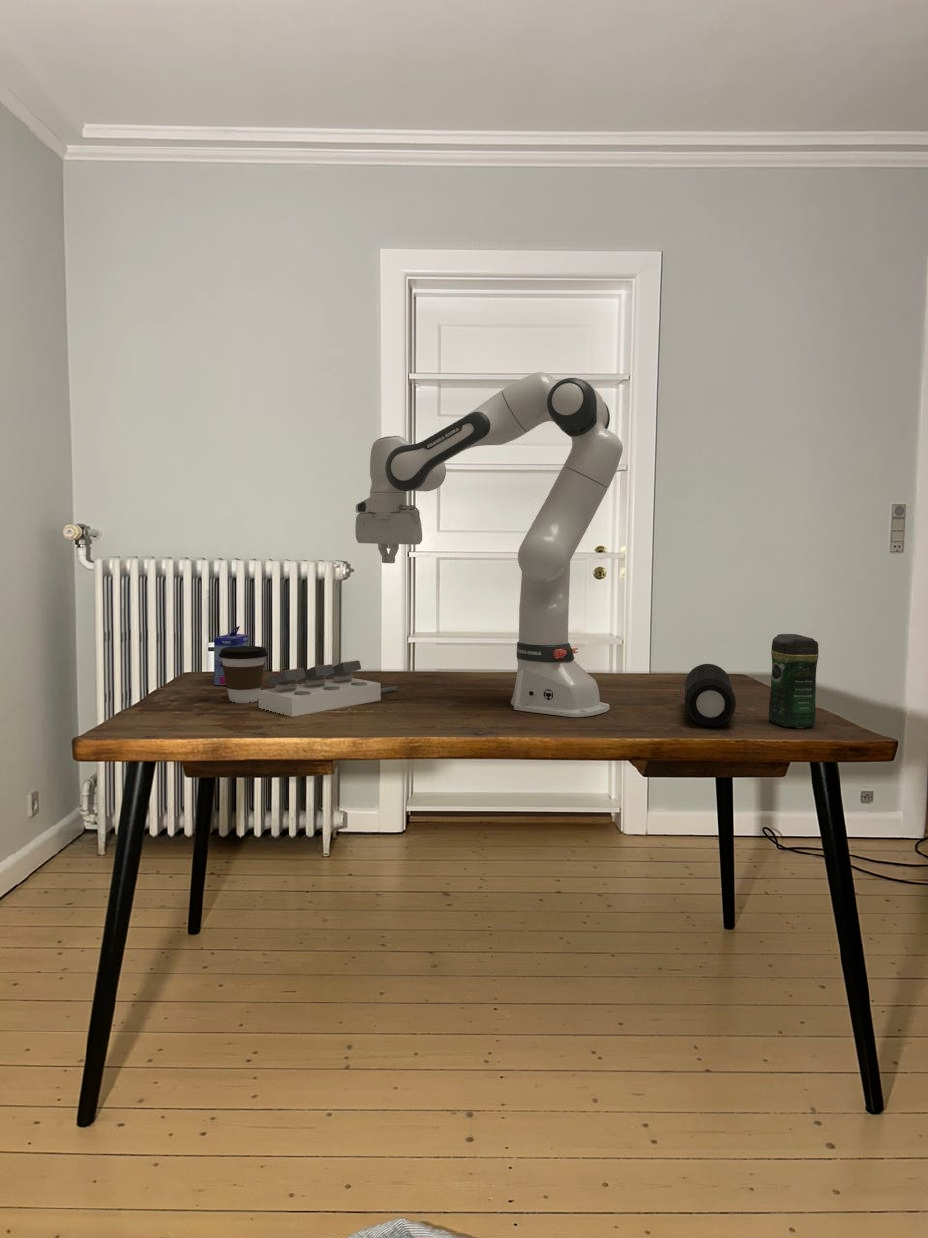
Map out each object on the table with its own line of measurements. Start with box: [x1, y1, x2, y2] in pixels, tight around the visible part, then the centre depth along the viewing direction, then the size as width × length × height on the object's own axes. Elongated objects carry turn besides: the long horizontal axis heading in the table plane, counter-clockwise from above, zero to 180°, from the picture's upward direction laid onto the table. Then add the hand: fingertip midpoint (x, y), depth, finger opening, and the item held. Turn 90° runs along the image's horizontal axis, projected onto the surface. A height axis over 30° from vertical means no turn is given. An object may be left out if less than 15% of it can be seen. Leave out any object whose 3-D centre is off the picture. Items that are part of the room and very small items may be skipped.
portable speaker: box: [684, 663, 737, 728], centre depth 188 cm, size 26×10×10 cm, turn 166°
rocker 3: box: [325, 659, 362, 679], centre depth 204 cm, size 7×5×2 cm
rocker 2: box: [297, 664, 334, 683], centre depth 198 cm, size 7×5×2 cm
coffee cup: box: [219, 645, 269, 704], centre depth 201 cm, size 11×11×12 cm
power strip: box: [258, 673, 398, 718], centre depth 201 cm, size 12×36×6 cm, turn 138°
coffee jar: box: [767, 633, 819, 729], centre depth 180 cm, size 10×8×19 cm
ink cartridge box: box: [213, 625, 249, 686], centre depth 224 cm, size 10×6×14 cm, turn 171°
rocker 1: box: [266, 667, 306, 688], centre depth 193 cm, size 7×5×2 cm
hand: (388, 563), depth 213 cm, fingers closed
